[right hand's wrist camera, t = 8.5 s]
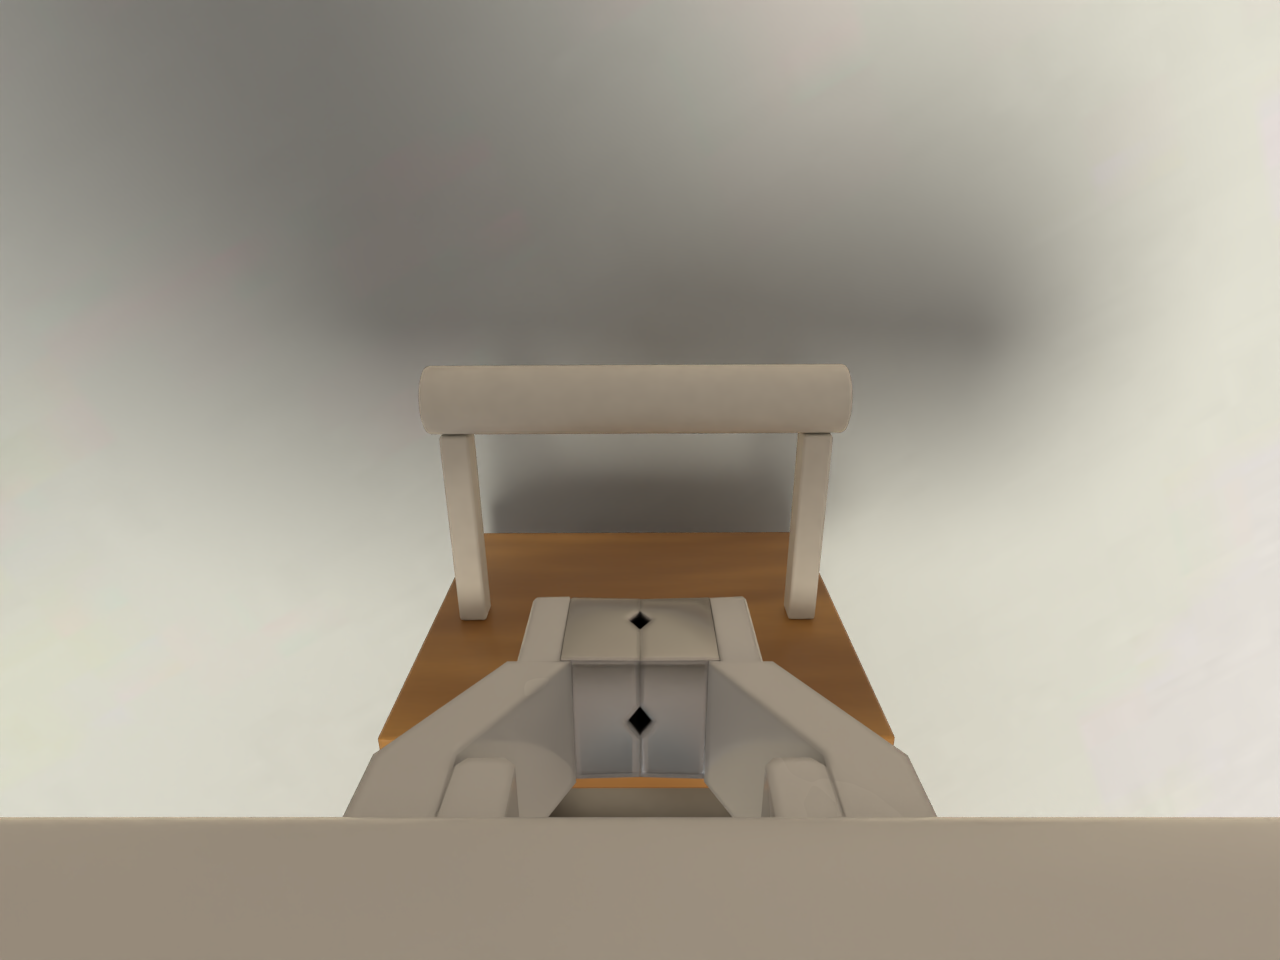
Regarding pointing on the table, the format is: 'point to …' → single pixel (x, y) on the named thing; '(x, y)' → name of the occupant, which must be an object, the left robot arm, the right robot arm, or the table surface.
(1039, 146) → the table surface
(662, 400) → the drawer
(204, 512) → the table surface
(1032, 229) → the table surface
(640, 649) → the right robot arm
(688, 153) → the table surface
